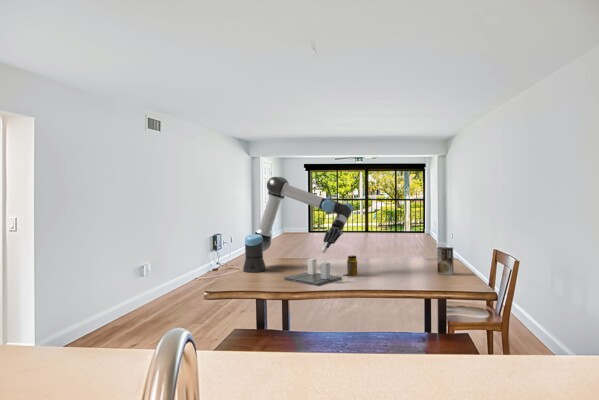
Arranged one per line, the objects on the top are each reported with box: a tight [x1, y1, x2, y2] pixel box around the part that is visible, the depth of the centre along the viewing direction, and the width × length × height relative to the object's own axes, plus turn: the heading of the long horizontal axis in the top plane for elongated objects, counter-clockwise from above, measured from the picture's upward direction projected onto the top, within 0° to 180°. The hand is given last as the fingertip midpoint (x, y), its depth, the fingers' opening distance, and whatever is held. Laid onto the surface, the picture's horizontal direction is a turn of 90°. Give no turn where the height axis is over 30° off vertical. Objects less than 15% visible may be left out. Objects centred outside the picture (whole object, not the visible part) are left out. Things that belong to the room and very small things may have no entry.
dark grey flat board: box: [283, 271, 343, 287], centre depth 254 cm, size 26×22×2 cm
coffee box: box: [436, 246, 455, 276], centre depth 263 cm, size 9×6×16 cm
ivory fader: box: [307, 258, 318, 275], centre depth 262 cm, size 4×4×9 cm
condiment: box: [342, 255, 361, 278], centre depth 264 cm, size 7×8×12 cm
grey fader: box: [320, 261, 331, 279], centre depth 248 cm, size 4×4×9 cm
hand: (323, 251), depth 268 cm, fingers closed
